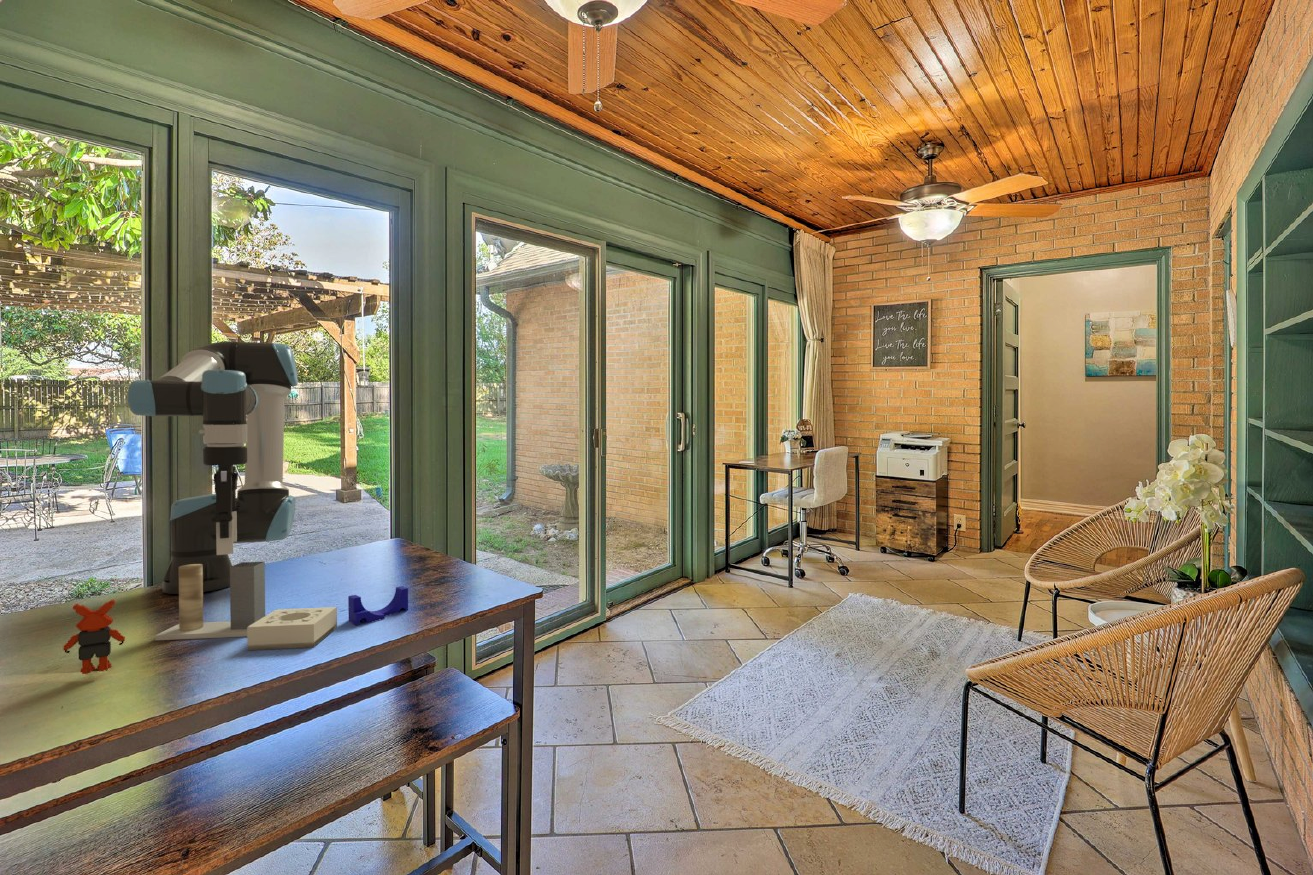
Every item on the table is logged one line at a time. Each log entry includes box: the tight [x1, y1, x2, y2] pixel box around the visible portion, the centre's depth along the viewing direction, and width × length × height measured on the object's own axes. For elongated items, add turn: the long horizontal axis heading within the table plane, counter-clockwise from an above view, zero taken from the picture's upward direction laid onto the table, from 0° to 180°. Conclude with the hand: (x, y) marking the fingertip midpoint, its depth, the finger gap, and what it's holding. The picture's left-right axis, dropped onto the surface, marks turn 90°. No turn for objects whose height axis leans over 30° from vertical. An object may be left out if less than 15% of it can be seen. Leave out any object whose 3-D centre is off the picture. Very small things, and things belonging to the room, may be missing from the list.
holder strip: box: [154, 620, 247, 641], centre depth 132 cm, size 8×20×1 cm, turn 98°
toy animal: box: [62, 599, 126, 675], centre depth 111 cm, size 8×5×12 cm
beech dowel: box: [178, 564, 204, 631], centre depth 131 cm, size 4×4×13 cm
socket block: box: [246, 606, 338, 651], centre depth 127 cm, size 12×12×4 cm
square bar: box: [229, 561, 266, 630], centre depth 132 cm, size 5×5×13 cm
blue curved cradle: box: [347, 585, 409, 627], centre depth 140 cm, size 12×4×6 cm, turn 136°
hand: (227, 547), depth 130 cm, fingers open, 13 cm apart
